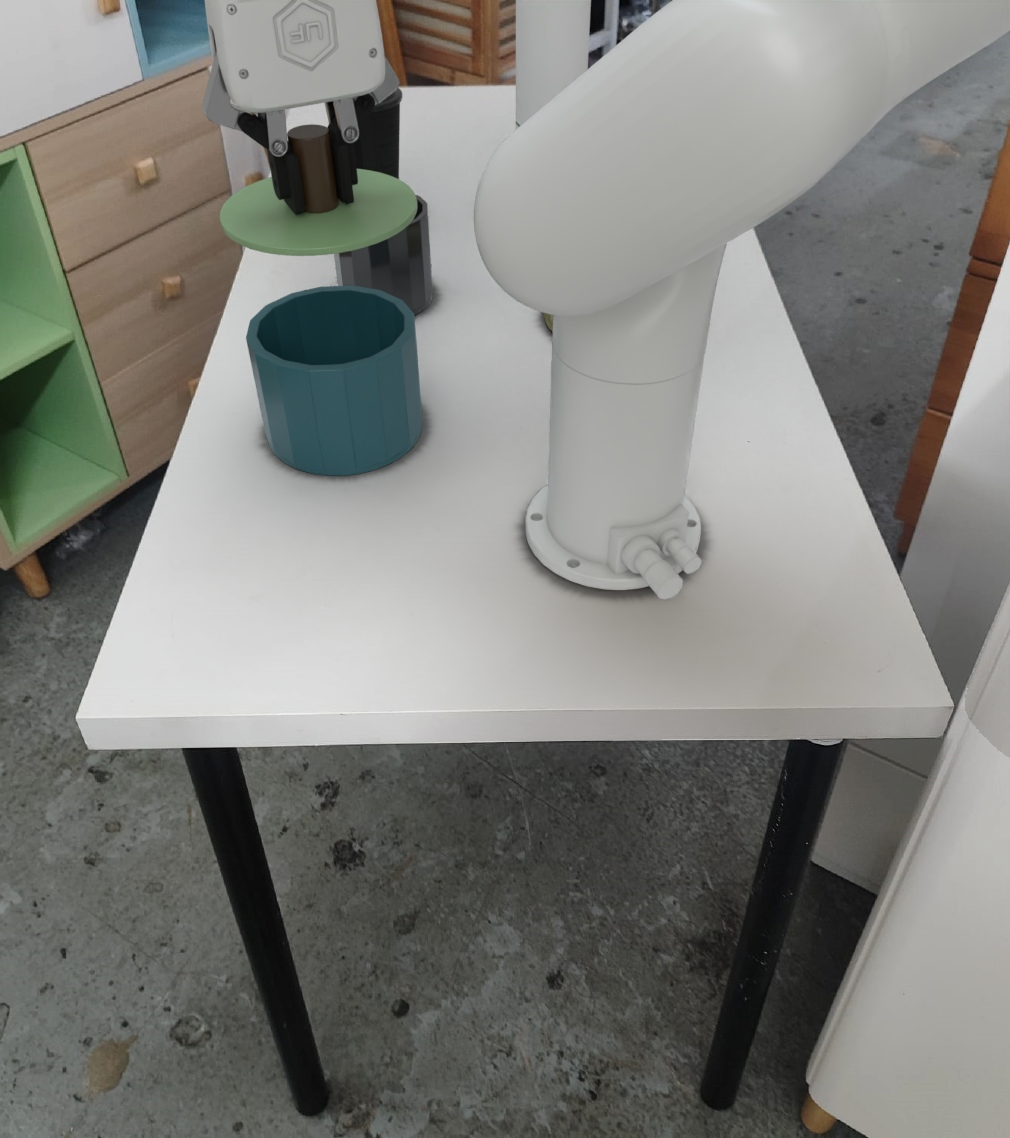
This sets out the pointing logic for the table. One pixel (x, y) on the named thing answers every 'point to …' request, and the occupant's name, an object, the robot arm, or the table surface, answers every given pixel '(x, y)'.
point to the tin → (337, 378)
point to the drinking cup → (380, 138)
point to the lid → (318, 206)
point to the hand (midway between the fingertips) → (318, 199)
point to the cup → (394, 264)
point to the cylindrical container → (548, 50)
